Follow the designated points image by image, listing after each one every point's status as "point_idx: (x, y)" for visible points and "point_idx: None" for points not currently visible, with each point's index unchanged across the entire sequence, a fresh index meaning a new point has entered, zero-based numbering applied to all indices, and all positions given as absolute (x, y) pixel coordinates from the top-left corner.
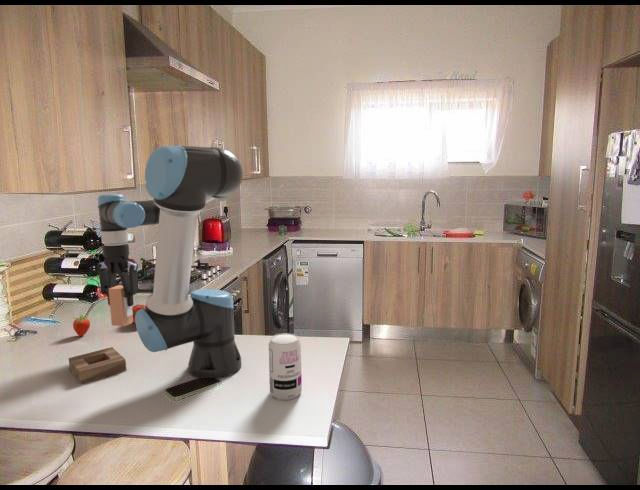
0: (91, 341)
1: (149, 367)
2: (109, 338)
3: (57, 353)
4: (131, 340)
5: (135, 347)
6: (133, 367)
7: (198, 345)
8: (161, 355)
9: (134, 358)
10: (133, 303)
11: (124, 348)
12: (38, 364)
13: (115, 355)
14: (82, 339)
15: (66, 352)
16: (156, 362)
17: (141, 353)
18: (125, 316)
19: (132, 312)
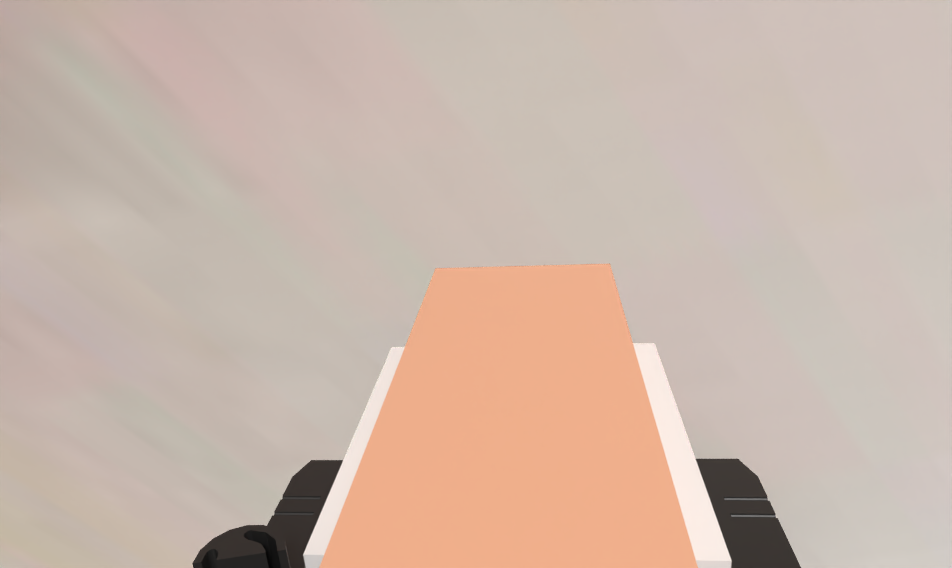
0: (122, 172)
1: (909, 457)
2: (206, 67)
3: (112, 413)
4: (443, 54)
5: (590, 188)
6: (794, 477)
7: None
8: (909, 274)
9: (716, 365)
10: (760, 484)
11: (511, 229)
12: (171, 551)
13: None
14: (9, 154)
15: (152, 387)
16: (925, 385)
17: (717, 279)
18: None
19: (660, 360)
